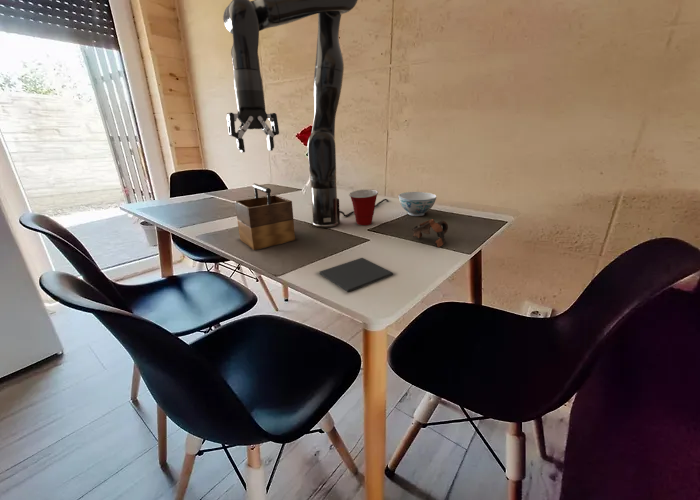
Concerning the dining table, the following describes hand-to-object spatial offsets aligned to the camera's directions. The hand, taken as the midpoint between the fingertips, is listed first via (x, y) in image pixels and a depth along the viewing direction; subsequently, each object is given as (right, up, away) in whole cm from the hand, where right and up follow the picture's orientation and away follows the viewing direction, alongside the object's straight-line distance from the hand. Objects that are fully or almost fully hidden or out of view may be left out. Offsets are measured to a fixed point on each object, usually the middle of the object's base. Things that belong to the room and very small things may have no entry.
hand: (256, 151), depth 92 cm
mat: (+29, -35, -14) cm, 48 cm away
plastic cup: (+33, -19, +26) cm, 46 cm away
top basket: (0, -19, +8) cm, 21 cm away
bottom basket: (0, -26, +10) cm, 28 cm away
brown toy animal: (+53, -27, +7) cm, 60 cm away
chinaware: (+55, -14, +37) cm, 68 cm away
